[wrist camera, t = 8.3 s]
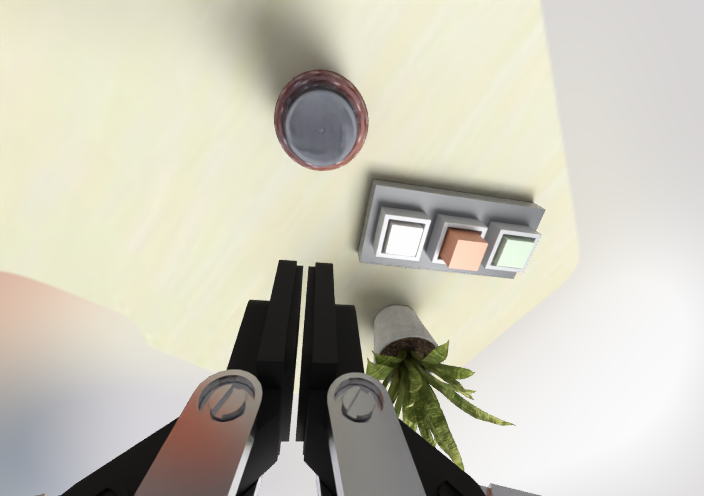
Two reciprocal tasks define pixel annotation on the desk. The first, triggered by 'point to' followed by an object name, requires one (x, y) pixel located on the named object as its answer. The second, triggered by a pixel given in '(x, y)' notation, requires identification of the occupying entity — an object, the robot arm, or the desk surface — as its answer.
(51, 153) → the desk surface
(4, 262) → the desk surface
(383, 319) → the house plant
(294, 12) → the desk surface
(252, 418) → the robot arm
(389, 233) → the button
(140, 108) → the desk surface
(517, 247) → the button
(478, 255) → the button
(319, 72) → the supplement bottle
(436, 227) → the panel
